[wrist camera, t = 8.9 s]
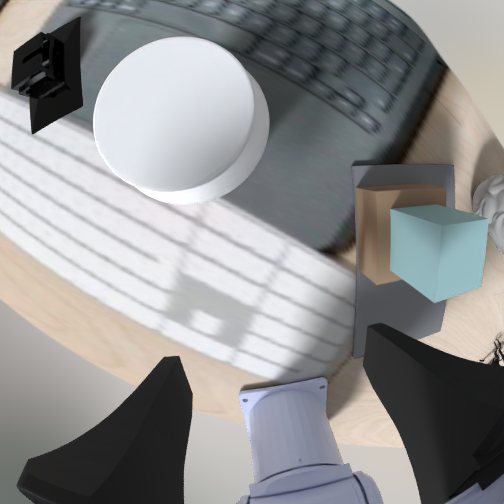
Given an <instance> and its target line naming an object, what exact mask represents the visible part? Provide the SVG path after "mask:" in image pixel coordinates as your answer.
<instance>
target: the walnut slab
mask: <svg viewBox="0 0 504 504" xmlns="http://www.w3.org/2000/svg"><path fill="white" fill-rule="evenodd" d="M356 200H357V218H358V250H359V270H360V271H361V272H362V273H363V274H364V275H365V276H367V277H368V278H369V279H370V280H371V281H372V282H374V283H375V284H376V285H380V284H385V283H389V282H394V281H398V280H402V279H401V278H400V277H399V276H397V275H396V274H395V273H393V272H392V271H390V253H391V216H390V209H394V208H404V207H414V206H424V205H435V204H437V205H441V206H445V207H446V187H441V186H434V185H428V184H404V185H387V186H373V187H360V188H356Z"/></svg>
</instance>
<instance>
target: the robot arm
mask: <svg viewBox="0 0 504 504" xmlns="http://www.w3.org/2000/svg"><path fill="white" fill-rule="evenodd" d="M363 366H364V369H365V371H366V374H367V376H368V379H369V381H370V383H371V385H372V387H373V389H374V390H375V392H376V394H377V396H378V397H379V399H380V401H381V402H382V404H383V405H384V407H385V409H386V410H387V412H388V414H389V415H390V417H391V419H392V420H393V422H394V424H395V426H396V428H397V430H398V432H399V434H400V436H401V439H402V441H403V444H404V446H405V448H406V451H407V454H408V457H409V460H410V462H411V465H412V468H413V472H414V475H415V478H416V482H417V486H418V490H419V495H420V500H421V504H504V366H497V365H490V364H484V363H479V362H475V361H471V360H467V359H464V358H460V357H457V356H454V355H451V354H448V353H445V352H443V351H441V350H438V349H436V348H433V347H431V346H429V345H427V344H424V343H422V342H420V341H418V340H416V339H414V338H412V337H410V336H408V335H406V334H404V333H402V332H400V331H398V330H396V329H394V328H392V327H390V326H388V325H386V324H384V323H381V322H380V323H376V324H372V325H368V326H367V333H366V344H365V353H364V361H363ZM327 383H328V382H327V379H326V378H324V377H321V378H317V379H312V380H307V381H302V382H297V383H291V384H286V385H280V386H274V387H267V388H260V389H253V390H245V391H241V392H240V393H239V399H240V403H241V407H242V411H243V415H244V419H245V423H246V427H247V430H248V434H249V438H250V441H251V452H252V463H253V474H254V484H250V485H249V486H250V495H245V496H242V497H241V498H240V500H239V501H238V502H237V503H236V504H383V500H382V497H381V494H380V491H379V489H378V487H377V485H376V483H375V481H374V480H373V479H372V477H371V476H369V475H367V474H365V473H363V472H362V471H357V472H354V473H352V470H351V467H350V464H349V463H348V464H344V463H343V460H342V457H341V455H340V452H339V449H338V446H337V443H336V440H335V438H334V435H333V432H332V429H331V426H330V424H329V421H328V418H327V415H326V402H327ZM322 385H323V386H322ZM320 386H321V387H320ZM192 399H193V393H192V391H191V388H190V385H189V382H188V380H187V377H186V374H185V371H184V369H183V366H182V363H181V360H180V357H179V356H171V357H164V358H163V359H162V360H161V361H160V362H159V363H158V364H157V366H156V367H155V368H154V369H153V370H152V371H151V373H150V374H149V375H148V376H147V377H146V378H145V380H144V381H143V382H142V383H141V384H140V385H139V386H138V387H137V389H136V390H135V391H134V392H133V393H132V394H131V395H130V396H129V397H128V398H127V399H126V400H125V401H124V402H123V403H122V404H121V405H120V406H119V407H118V408H117V409H116V410H115V411H114V412H112V413H111V414H110V415H109V416H108V417H107V418H105V419H104V420H103V421H102V422H100V423H99V424H98V425H96V426H95V427H93V428H92V429H90V430H89V431H87V432H86V433H84V434H83V435H81V436H80V437H78V438H77V439H75V440H73V441H71V442H69V443H68V444H66V445H64V446H62V447H60V448H58V449H55V450H53V451H51V452H48V453H45V454H43V455H40V456H37V457H34V458H31V459H28V461H27V463H26V465H25V467H24V469H23V472H22V474H21V476H20V478H19V481H18V483H17V487H18V489H19V491H20V492H21V493H22V494H23V495H25V496H26V497H27V498H28V499H29V500H31V501H32V502H33V503H35V504H184V464H185V456H186V449H187V444H188V437H189V431H190V425H191V419H192Z"/></svg>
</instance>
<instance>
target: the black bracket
mask: <svg viewBox="0 0 504 504" xmlns="http://www.w3.org/2000/svg"><path fill="white" fill-rule="evenodd" d="M80 20H81V17H78V18H76V19H74V20H72V21H71V22H69V23H67V24H65V25H63V26H62V27H60V28H58V29H56V30H55V31H53V32H51V33H50V34H49V33H47V34H44V33H42V32H40V33H39V34H37V35H36V36H34V37H33V38H32V39H30V40H29V41H27V42H26V43H25V44H23V45H22V46H20V47H19V48H18V49H16V50H15V51H14V55H13V66H12V84H11V89H13V90H17V91H19V94H20V95H23V96H26V97H30V118H31V131H32V134H34V133H36V132H38V131H39V130H41V129H42V128H44V127H46V126H47V125H49V124H51V123H53V122H54V121H56V120H58V119H60V118H62V117H63V116H65V115H67V114H69V113H71V112H73V111H75V110H77V109H79V108H81V107H82V106H83V98H82V86H81V68H80Z"/></svg>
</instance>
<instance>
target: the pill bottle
mask: <svg viewBox="0 0 504 504" xmlns="http://www.w3.org/2000/svg"><path fill="white" fill-rule="evenodd" d="M269 125H270V119H269V111H268V106H267V102H266V99H265V96H264V94H263V92H262V90H261V88H260V86H259V85H258V83H257V82H256V80H255V79H254V78H253V77H252V76H251V75H250V73H249V72H248V71H246V70H245V69H244V67H243V66H242V64H241V63H240V62H239V61H238V60H237V59H236V58H235V56H233V55H232V54H231V53H230V52H229V51H227V50H226V49H224V48H222V47H221V46H219V45H217V44H215V43H213V42H210V41H208V40H204V39H200V38H195V37H170V38H165V39H160V40H157V41H154V42H151V43H149V44H147V45H145V46H142V47H140V48H138V49H137V50H135V51H134V52H132V53H131V54H129V55H128V56H127V57H126V58H124V59H123V60H122V61H121V62H120V63H119V64H118V65H117V66H116V67H115V68H114V70H113V71H112V72H111V73H110V75H109V76H108V77H107V79H106V81H105V82H104V84H103V86H102V88H101V90H100V92H99V95H98V98H97V101H96V105H95V109H94V117H93V130H94V137H95V141H96V145H97V147H98V150H99V153H100V154H101V156H102V158H103V160H104V161H105V162H106V164H107V165H108V167H109V168H110V169H111V170H112V171H113V172H114V173H115V174H116V175H117V176H118V177H120V178H121V179H122V180H124V181H126V182H127V183H129V184H131V185H134V186H135V187H136V188H137V189H138V190H140V191H141V192H143V193H144V194H146V195H148V196H150V197H152V198H154V199H156V200H159V201H162V202H166V203H170V204H179V205H192V204H200V203H204V202H208V201H211V200H214V199H217V198H219V197H221V196H223V195H225V194H227V193H229V192H230V191H232V190H233V189H235V188H236V187H237V186H239V185H240V184H241V183H242V182H243V181H244V180H245V179H246V178H247V177H248V176H249V175H250V174H251V173H252V171H253V170H254V169H255V167H256V166H257V164H258V162H259V161H260V159H261V157H262V155H263V152H264V150H265V147H266V144H267V140H268V135H269Z"/></svg>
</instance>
